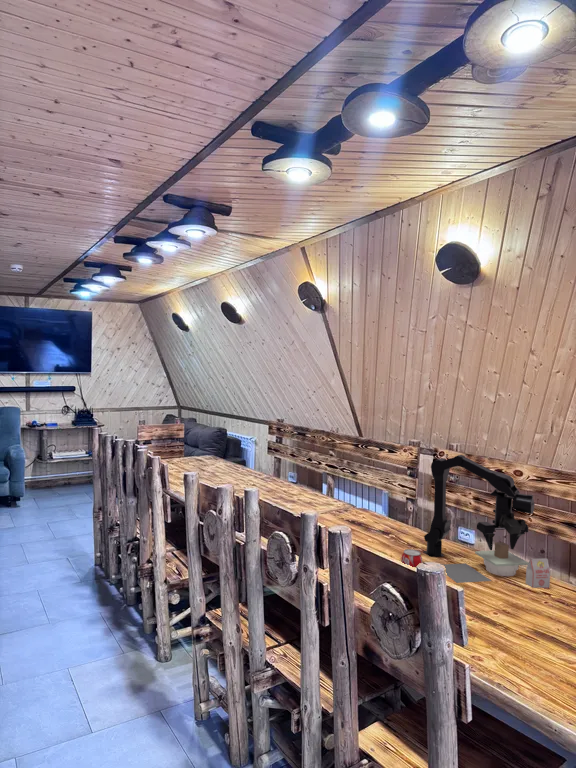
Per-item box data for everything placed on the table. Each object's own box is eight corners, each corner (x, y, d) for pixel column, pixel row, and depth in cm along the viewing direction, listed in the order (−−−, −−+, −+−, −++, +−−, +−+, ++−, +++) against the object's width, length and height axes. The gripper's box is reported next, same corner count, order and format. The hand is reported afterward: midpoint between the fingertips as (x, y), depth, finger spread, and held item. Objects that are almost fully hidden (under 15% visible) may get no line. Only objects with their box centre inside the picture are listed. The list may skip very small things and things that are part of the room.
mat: (433, 566, 197) (433, 564, 197) (465, 564, 201) (465, 563, 201) (456, 584, 181) (456, 582, 181) (491, 582, 184) (491, 580, 184)
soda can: (421, 591, 173) (423, 556, 173) (400, 589, 175) (401, 554, 175) (420, 583, 180) (422, 549, 180) (400, 581, 182) (401, 547, 182)
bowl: (477, 566, 199) (477, 553, 199) (504, 565, 201) (505, 552, 201) (496, 578, 187) (496, 565, 187) (524, 577, 190) (525, 564, 190)
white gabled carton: (525, 584, 183) (526, 557, 183) (542, 584, 184) (543, 556, 184) (532, 589, 179) (533, 560, 179) (549, 588, 180) (550, 560, 180)
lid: (475, 553, 199) (475, 538, 199) (505, 552, 202) (506, 537, 202) (496, 566, 186) (497, 550, 186) (528, 564, 189) (529, 549, 189)
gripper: (494, 515, 184) (492, 558, 184) (539, 514, 188) (537, 556, 188) (476, 507, 195) (474, 547, 195) (519, 506, 199) (517, 545, 199)
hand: (501, 549), depth 194 cm, fingers open, 9 cm apart
